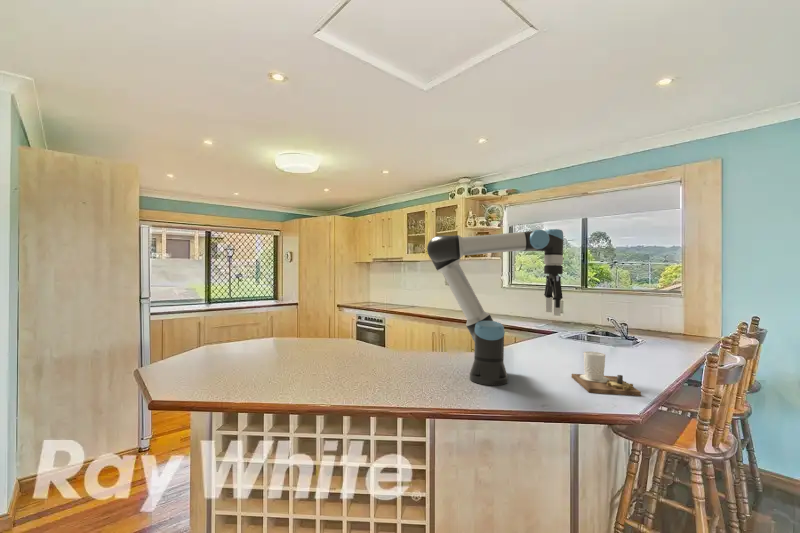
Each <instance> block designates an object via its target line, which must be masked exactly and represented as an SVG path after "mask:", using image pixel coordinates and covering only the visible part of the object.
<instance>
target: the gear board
mask: <svg viewBox="0 0 800 533" xmlns="http://www.w3.org/2000/svg"><path fill="white" fill-rule="evenodd" d="M571 378H572V379H573V380H574V381H575V382H576V383H577V384H578V385H580V387H582V388H583V389H584V390H585V391H586V392H587V393H591V394H592V393H593V394H606V395H618V394H621V395H622V396H633V397H634V396H636V397H642V391H640V390H638V389H637V388H636V387H635V386H634V384H633V383H629V382H627V381H624V380H623V379H624V378H623V375H622V374H617V375H615V376H613V375H604V379H603V380H593V379H588V378H586V377H585V373H584V374H582V373H579V374H578V373H571Z"/></svg>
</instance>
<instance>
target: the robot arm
mask: <svg viewBox="0 0 800 533" xmlns="http://www.w3.org/2000/svg"><path fill="white" fill-rule="evenodd" d="M426 250H427V251H426V252H427V256H428V257H429V259H430V260H431V262H432V263H433V265H434V268H435V269H436V271H437V272H439V273H441V274H442V275H443V278H444V279H445V281H446V284H448V286H449V289H450V290H451V292H452V294H453V296H454V298H455V300H456V302H457V304H458V305H459V308H460V309H461V311H462V314H463V315H464V318H465V319H466V324H465V326H466V328H467V330H468V333H469V334H470V335H471V337H472V340H473V342H474V352H473V354H474V355H473V356H474V357H473V358H474V359H473V362H472V365H471V369H470V372H469V380H470V381H471V382H473V383H476V384H479V385H485V386H502V385H505V384H506V385H507V384H508V383H509V382H508V381H509V376H508V372H507V370H506V367H505V361H504V356H505V354H504V352H505V351H504V350H505V332H506V331H505V327H504V324H503V323H501V322H497V321H494V320H493V317H492V315H491V314H490V313H489V312H486V311H485V310H484V309H483V306H482V304H481V303H480V300H479V299H478V297H477V295H476V293H475V291H474V289H473V288H472V286H471V284H470V282H469V280H468V278H467V276H466V274H465V273H464V270H463V269H462V267H461V265H460V262H461V258H462V257H463V256H473V255H482V254H483V255H484V254H485V255H486V254H495V253H496V254H497V253H506V252H507V253H508V252H518V251H520V252H544V256H543V257H544V258H543V259H544V260H543V263H544V266H543V272H544V275H545V274H546V281H545V287H544V294H543V295H544V297H545V308H544V311H545V312H544V313H552V316H554V317H555V316H559V317H560V316H561V313H562V312H561V310H562V309H561V307H562V306H561V304H562V303H561V302H562V300H563V290H562V283H561V280H562V279H561V278H562V277H561V276H560V275H563V274H564V268H563V263H564V259H565V257H564V256H563V255H564V232H563V230H562V229H559V228H558V229H557V228H555V229H551V228H550V229H549V228H548V229H545V230H543V229H536V230H532V231H531V230H530V231H520V232H519V231H517V232H510V233H509V232H508V233H507V232H506V233H498V234H497V233H496V234H487V235H486V234H485V235H472V236H464V237H463V236H461V235H459V234H457V235H441V234H440V235H436V236H434V237H432V238H431V239H430V240H429V241H428V244H427V247H426Z"/></svg>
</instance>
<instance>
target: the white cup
mask: <svg viewBox="0 0 800 533" xmlns="http://www.w3.org/2000/svg"><path fill="white" fill-rule="evenodd" d="M605 366H606V354H605V353H603V352H598V351H584V352H583V367H584V369H583V370H584V374H585V377H586V378H588V379H593V380H603V379H604V376H605V374H604V373H605Z"/></svg>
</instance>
